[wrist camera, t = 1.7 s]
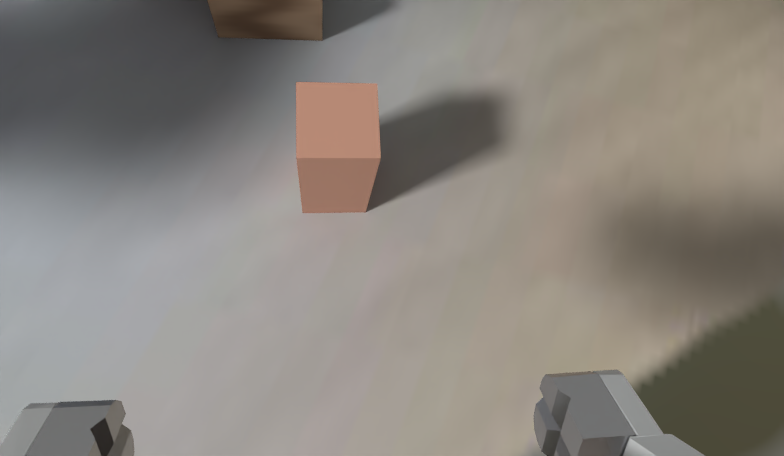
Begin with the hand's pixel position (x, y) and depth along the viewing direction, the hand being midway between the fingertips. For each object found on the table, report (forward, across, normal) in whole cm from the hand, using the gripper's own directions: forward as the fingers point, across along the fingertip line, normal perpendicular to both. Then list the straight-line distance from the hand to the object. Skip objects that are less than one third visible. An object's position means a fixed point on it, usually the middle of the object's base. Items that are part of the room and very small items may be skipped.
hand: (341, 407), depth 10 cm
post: (+24, 0, +6) cm, 25 cm away
